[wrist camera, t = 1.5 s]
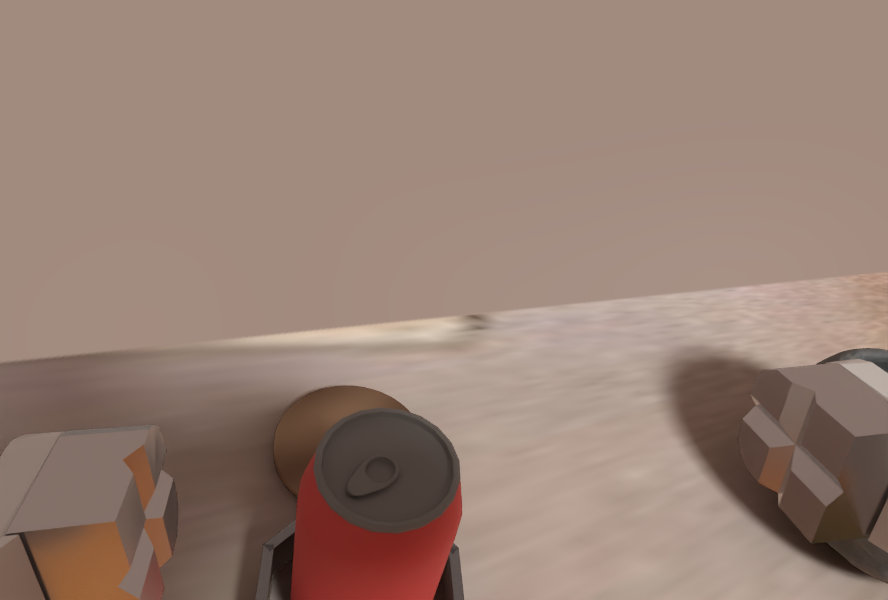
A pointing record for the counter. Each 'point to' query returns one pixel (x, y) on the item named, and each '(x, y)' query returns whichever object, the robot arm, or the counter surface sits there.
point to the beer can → (376, 510)
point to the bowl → (861, 549)
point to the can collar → (282, 552)
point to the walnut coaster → (318, 426)
